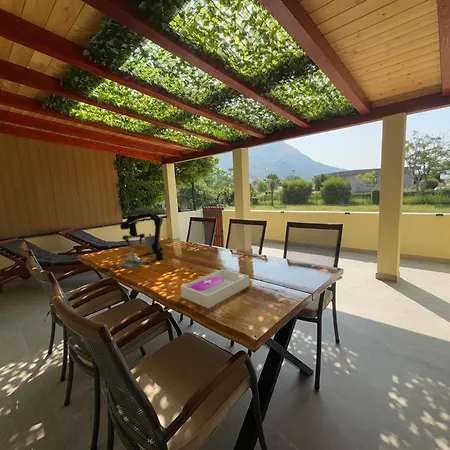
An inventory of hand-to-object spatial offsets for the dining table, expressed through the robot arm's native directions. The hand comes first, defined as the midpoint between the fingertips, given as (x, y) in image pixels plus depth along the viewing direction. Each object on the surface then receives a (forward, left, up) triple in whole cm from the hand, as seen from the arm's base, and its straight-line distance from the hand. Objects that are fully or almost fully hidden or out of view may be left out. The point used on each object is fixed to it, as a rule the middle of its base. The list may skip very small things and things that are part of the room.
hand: (134, 245), depth 220 cm
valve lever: (-8, +13, -6) cm, 16 cm away
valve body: (-8, +7, -12) cm, 16 cm away
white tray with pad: (-110, +17, -15) cm, 112 cm away
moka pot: (+9, -26, -14) cm, 31 cm away
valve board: (-8, +9, -14) cm, 18 cm away
